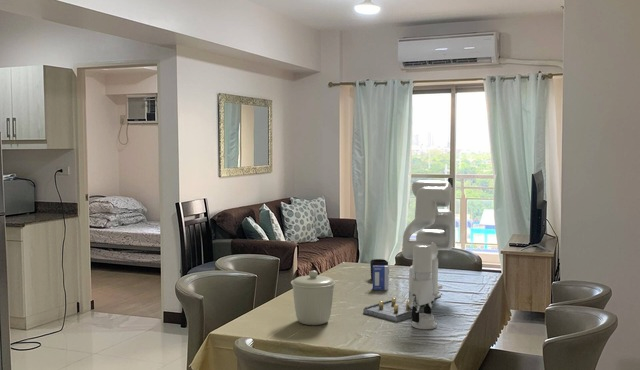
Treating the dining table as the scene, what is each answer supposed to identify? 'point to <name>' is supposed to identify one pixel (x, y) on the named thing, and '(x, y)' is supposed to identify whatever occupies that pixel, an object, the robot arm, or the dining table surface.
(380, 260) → the pen holder
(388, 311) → the plate
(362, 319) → the dining table surface
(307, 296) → the canister
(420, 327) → the mechanical component
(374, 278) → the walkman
